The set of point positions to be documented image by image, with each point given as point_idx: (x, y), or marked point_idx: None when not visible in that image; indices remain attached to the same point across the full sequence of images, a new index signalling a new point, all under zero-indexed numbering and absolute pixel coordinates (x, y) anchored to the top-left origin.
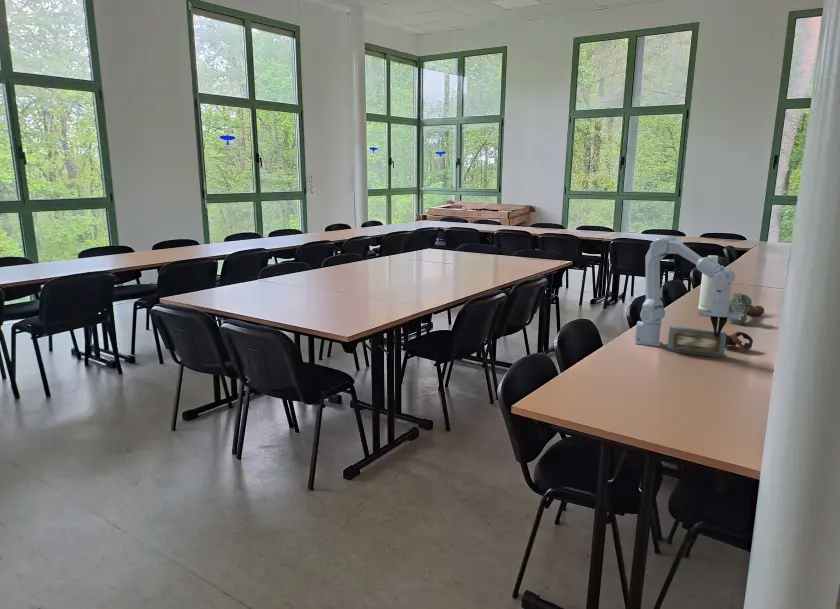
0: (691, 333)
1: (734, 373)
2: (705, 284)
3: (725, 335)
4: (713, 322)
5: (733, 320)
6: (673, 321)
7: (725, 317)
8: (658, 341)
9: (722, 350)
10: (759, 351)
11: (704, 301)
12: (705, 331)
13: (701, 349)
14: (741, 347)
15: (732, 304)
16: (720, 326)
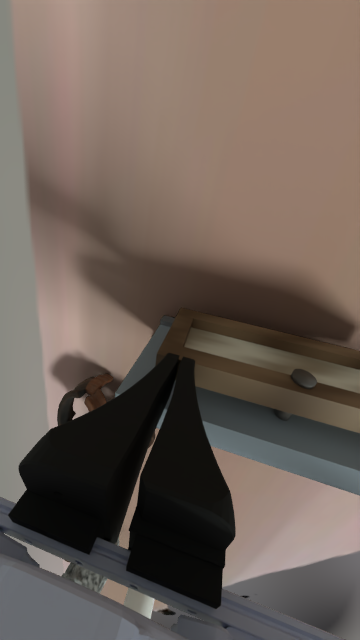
0: (336, 421)
1: (153, 19)
2: None
3: (126, 384)
4: (201, 466)
5: None
6: (225, 555)
7: (31, 533)
8: None
9: (161, 336)
10: (63, 387)
11: (146, 595)
12: (235, 429)
13: (257, 329)
14: (96, 384)
15: (96, 582)
16: (134, 408)
